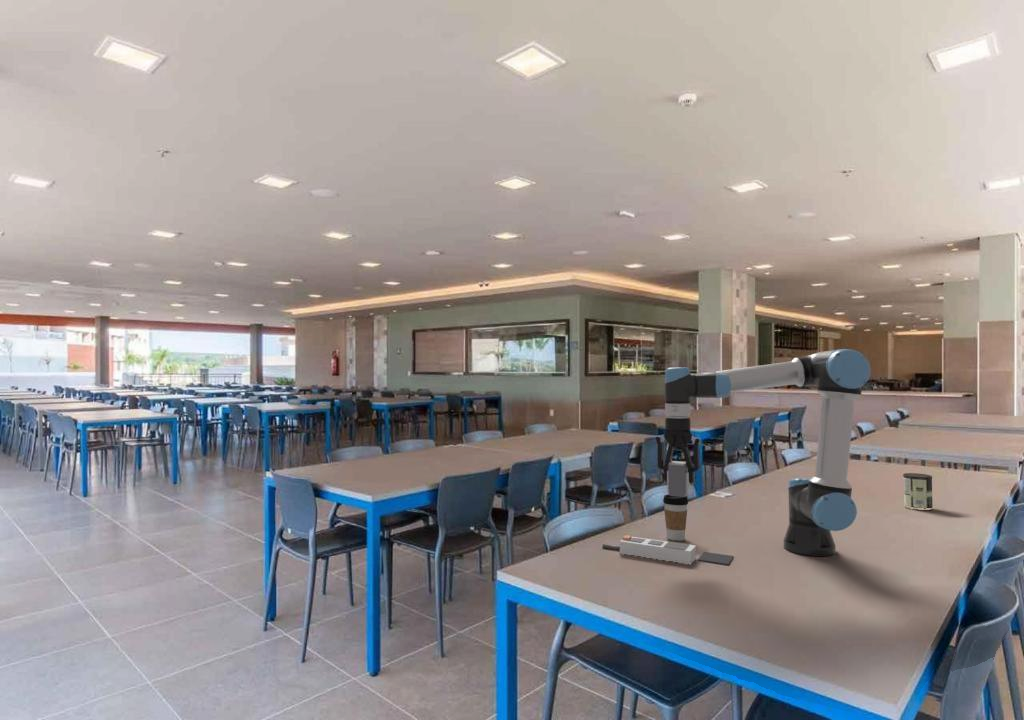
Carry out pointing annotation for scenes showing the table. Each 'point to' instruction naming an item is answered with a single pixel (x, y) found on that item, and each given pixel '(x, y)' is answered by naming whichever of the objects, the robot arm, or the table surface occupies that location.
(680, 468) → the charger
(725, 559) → the mat
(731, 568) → the table surface
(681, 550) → the power strip
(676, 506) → the coffee cup
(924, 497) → the coffee can
